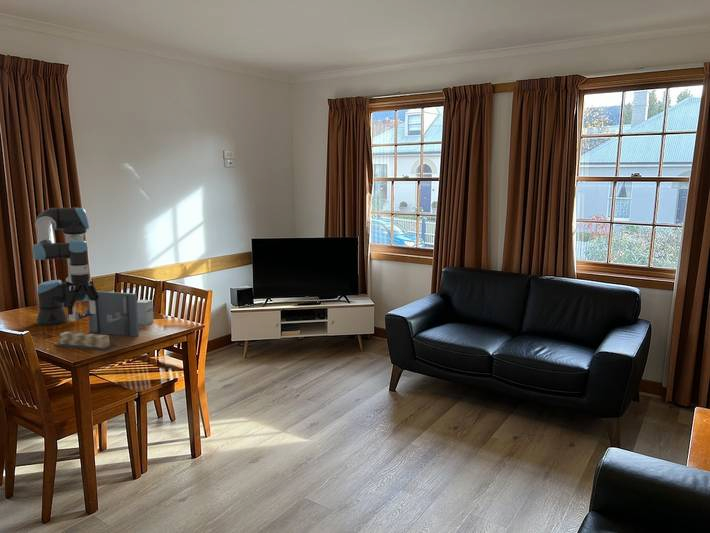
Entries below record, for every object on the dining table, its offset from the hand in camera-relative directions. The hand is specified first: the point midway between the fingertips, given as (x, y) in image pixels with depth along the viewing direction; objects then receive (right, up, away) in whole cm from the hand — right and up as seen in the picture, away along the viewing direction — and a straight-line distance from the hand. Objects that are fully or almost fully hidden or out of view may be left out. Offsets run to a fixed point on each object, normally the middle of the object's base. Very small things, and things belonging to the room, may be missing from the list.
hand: (83, 317), depth 250 cm
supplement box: (+12, -8, +44) cm, 46 cm away
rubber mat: (0, -14, +2) cm, 14 cm away
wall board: (+5, -11, +22) cm, 25 cm away
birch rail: (0, -13, +2) cm, 14 cm away
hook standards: (+3, -12, +15) cm, 19 cm away
